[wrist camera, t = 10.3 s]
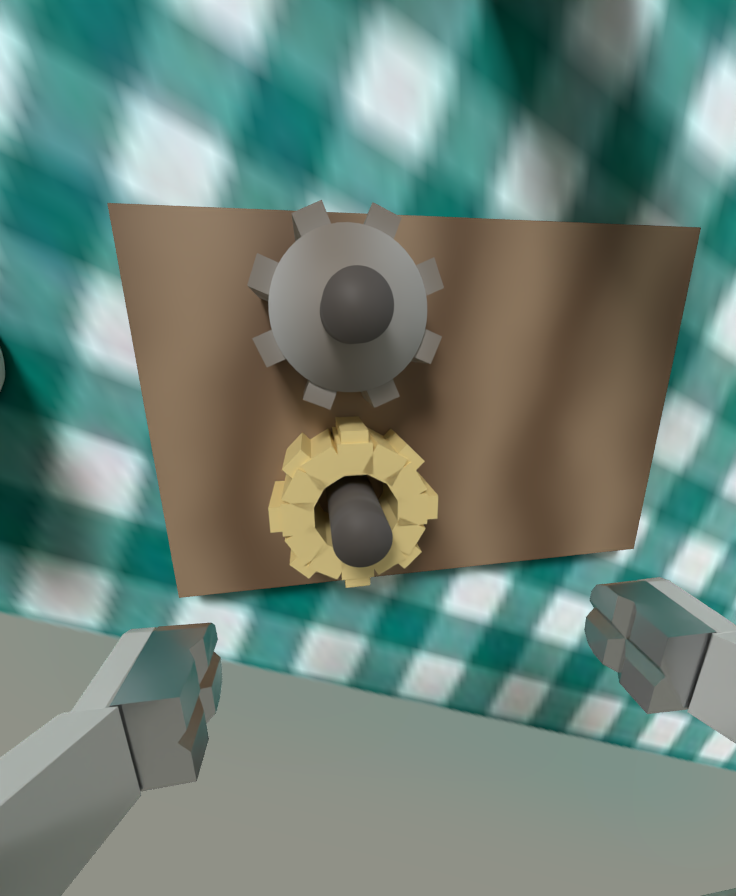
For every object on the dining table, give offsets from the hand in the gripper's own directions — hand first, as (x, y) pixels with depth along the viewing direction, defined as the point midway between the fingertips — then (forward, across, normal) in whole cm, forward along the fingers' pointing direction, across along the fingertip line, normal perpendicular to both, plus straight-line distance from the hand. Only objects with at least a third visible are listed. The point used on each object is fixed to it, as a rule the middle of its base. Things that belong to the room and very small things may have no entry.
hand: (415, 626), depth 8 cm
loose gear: (+9, +1, 0) cm, 9 cm away
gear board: (+11, -3, -2) cm, 12 cm away
